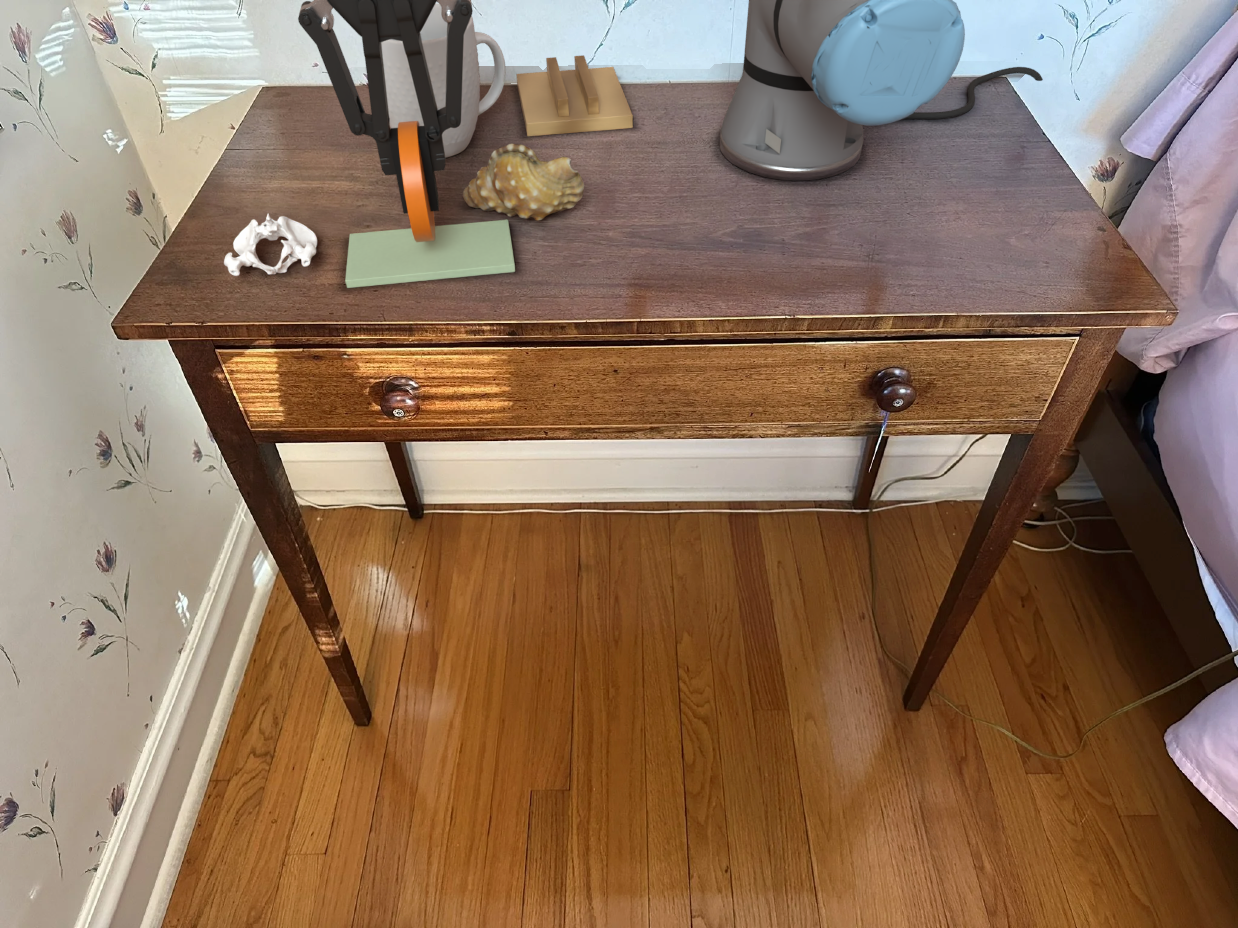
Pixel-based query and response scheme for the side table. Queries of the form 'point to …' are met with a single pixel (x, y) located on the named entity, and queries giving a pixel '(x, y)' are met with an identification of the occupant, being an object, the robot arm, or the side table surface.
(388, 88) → the mug
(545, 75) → the rack
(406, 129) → the disc
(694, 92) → the side table surface
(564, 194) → the seashell
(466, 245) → the mat
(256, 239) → the anatomical pelvis
